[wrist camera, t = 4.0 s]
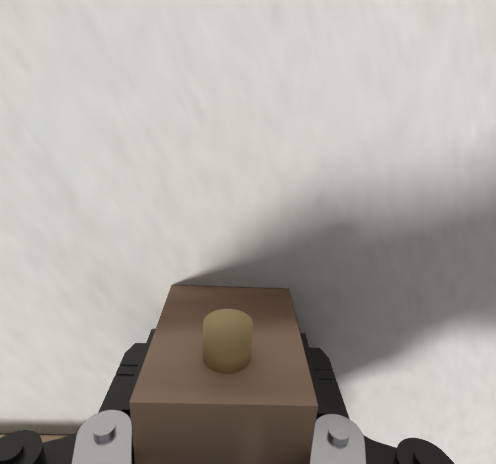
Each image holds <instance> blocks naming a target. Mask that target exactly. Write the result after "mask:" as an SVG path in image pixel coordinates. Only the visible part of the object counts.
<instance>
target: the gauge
mask: <svg viewBox="0 0 496 464" xmlns="http://www.w3.org/2000/svg"><path fill="white" fill-rule="evenodd" d="M129 404H130V415H131V426H132V437H133V448H134V459H135V464H309V460H310V453H311V450H312V443H313V437H314V430H315V423H316V417H317V410H318V403H317V399H316V395H315V391H314V387H313V383H312V379H311V376H310V372H309V368H308V364H307V360H306V356H305V352H304V348H303V344H302V340H301V336H300V332H299V328H298V324H297V320H296V316H295V312H294V308H293V304H292V300H291V296H290V292H289V289H279V288H247V287H214V286H182V285H172V286H171V288H170V291H169V294H168V297H167V299H166V302H165V305H164V308H163V311H162V313H161V316H160V319H159V322H158V324H157V327H156V330H155V333H154V335H153V338H152V341H151V344H150V346H149V349H148V352H147V355H146V358H145V360H144V363H143V366H142V369H141V371H140V374H139V377H138V380H137V382H136V385H135V388H134V391H133V394H132V396H131V399H130V402H129Z"/></svg>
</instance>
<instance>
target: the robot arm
mask: <svg viewBox="0 0 496 464" xmlns="http://www.w3.org/2000/svg"><path fill="white" fill-rule="evenodd" d="M155 330H156V329H152V330H151V332H150V335H149V338H148V340H147V343H135V344H134V345H133V346H132V347H131V348H130V349H129V350H128V351H127V352H126V353H125V354H124V357H123V359H122V361H121V363H120V367H119V368H118V370H117V372H116V376H115V377H114V379H113V381H112V383H111V386H110V388H109V390H108V392H107V395H106V397H105V399H104V401H103V404H102V406H101V408H100V410H99V412H98V413H97V414H95V415H93V416H92V417H90V418H89V419H87V420H86V421H85V422H84V423H83V424H82V426H81V427H80V428H79V431H78V432H77V433H75V434H72V435H69V436H66V437H63V438H59V439H55V440H51V441H47V442H42V439H41V437H40V435H38V434H37V433H35V432H33V431H27V430H24V431H17V432H13V433H10V434H8V435H5V436H3V437H1V438H0V464H135V459H134V448H133V437H132V426H131V415H130V404H129V402H130V399H131V396H132V394H133V391H134V388H135V385H136V382H137V380H138V377H139V374H140V371H141V369H142V366H143V363H144V360H145V358H146V355H147V352H148V349H149V346H150V344H151V341H152V338H153V335H154V333H155ZM300 336H301V340H302V344H303V348H304V352H305V356H306V360H307V364H308V368H309V372H310V376H311V379H312V383H313V387H314V391H315V395H316V399H317V403H318V410H317V417H316V423H315V430H314V437H313V443H312V450H311V453H310V460H309V464H454V463H453V462H452V460H451V459H450V458H449V457H448V456H447V455H446V454H445V453H444V452H443V451H442V450H441V449H439V448H438V447H437V446H435V445H434V444H432V443H430V442H428V441H425V440H423V439H419V438H408V439H405V440H402V441H401V442H400V443H399V445H398V447H397V448H395V447H392V446H389V445H385V444H382V443H379V442H376V441H373V440H371V439H369V438H367V437H366V436H364V435H363V433H362V432H361V430H360V428H359V427H358V426H357V425H356V424H355V423H354V422H353V421H351V420H350V419H349V416H348V413H347V411H346V408H345V405H344V402H343V399H342V396H341V393H340V390H339V387H338V384H337V381H336V378H335V375H334V372H333V369H332V366H331V363H330V360H329V358H328V357H327V356H326V354H325V353H324V352H323V351H322V350H321V349H320V348H309V346H308V342H307V339H306V335H305V333H300Z"/></svg>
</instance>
